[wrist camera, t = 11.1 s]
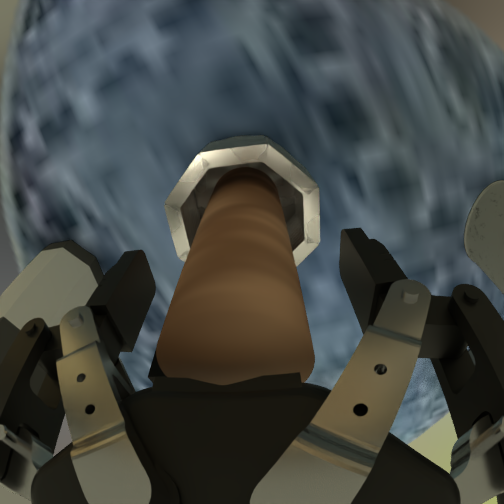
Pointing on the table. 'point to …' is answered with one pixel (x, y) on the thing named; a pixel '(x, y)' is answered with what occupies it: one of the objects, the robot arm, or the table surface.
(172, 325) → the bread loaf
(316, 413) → the robot arm
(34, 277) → the wine bottle
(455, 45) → the table surface
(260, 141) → the mug
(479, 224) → the speckled stone cylinder
